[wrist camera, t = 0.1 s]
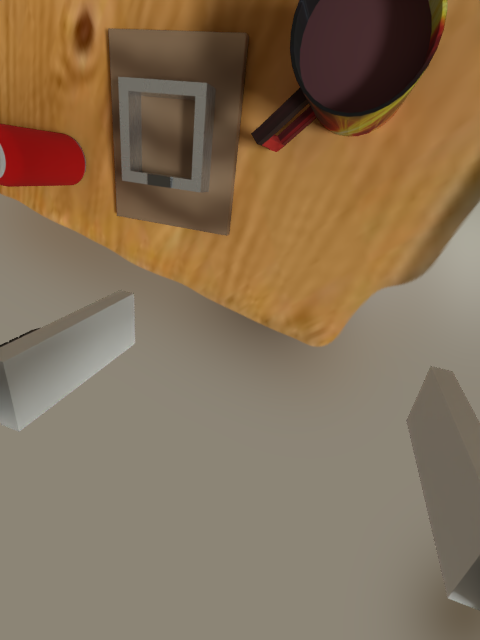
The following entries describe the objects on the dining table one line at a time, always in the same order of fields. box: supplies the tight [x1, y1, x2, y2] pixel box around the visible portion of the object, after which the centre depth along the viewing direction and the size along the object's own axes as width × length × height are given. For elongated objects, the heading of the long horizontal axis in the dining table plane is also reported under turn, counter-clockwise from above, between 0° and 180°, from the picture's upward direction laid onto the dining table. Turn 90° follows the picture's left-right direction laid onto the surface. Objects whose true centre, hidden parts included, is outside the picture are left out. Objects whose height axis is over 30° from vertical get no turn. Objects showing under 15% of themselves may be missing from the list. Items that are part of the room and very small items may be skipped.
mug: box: [251, 0, 447, 152], centre depth 28 cm, size 10×14×12 cm
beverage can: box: [0, 124, 86, 186], centre depth 39 cm, size 6×6×12 cm
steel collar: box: [118, 77, 216, 193], centre depth 37 cm, size 10×10×3 cm
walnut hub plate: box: [109, 29, 249, 236], centre depth 39 cm, size 20×16×1 cm
